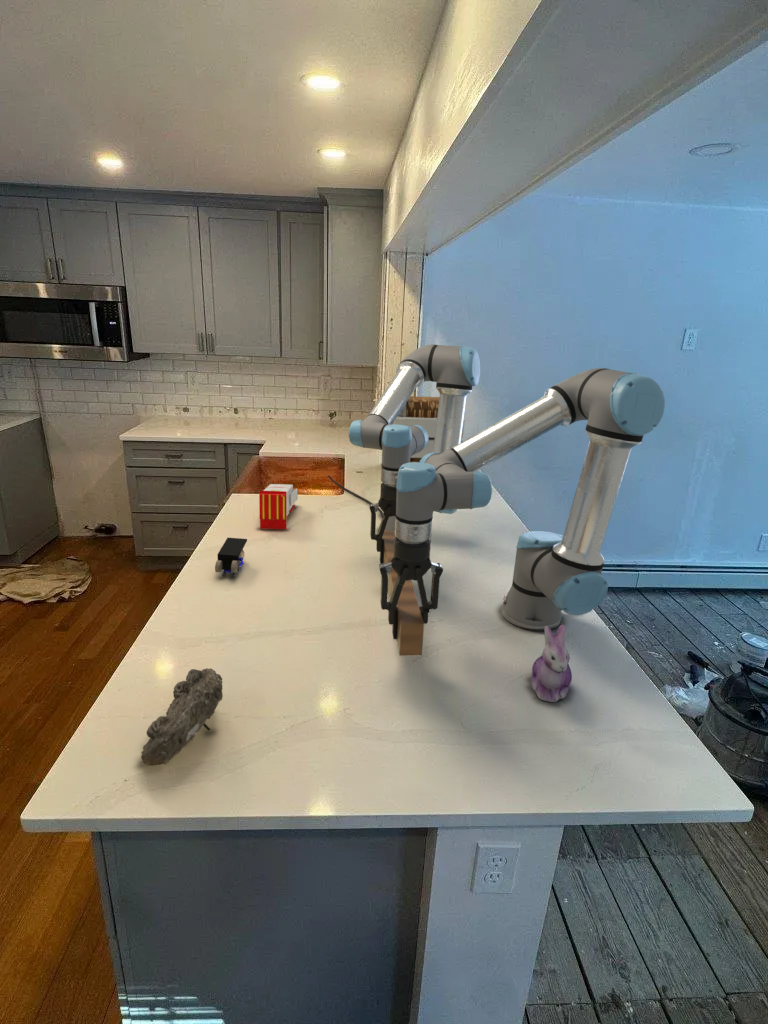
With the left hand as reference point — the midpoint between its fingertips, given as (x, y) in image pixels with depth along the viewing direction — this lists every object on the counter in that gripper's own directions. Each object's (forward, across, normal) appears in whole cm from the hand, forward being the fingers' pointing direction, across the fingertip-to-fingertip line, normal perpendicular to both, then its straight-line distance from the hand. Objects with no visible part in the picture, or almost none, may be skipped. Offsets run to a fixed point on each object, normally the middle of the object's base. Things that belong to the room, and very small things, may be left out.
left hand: (391, 561), depth 161 cm
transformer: (+8, +25, +117) cm, 120 cm away
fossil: (+7, -42, -58) cm, 72 cm away
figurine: (+7, +30, -49) cm, 58 cm away
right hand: (0, 0, -38) cm, 38 cm away
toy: (+7, -37, +55) cm, 67 cm away
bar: (+1, 0, -19) cm, 19 cm away
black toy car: (+7, -46, +9) cm, 47 cm away
